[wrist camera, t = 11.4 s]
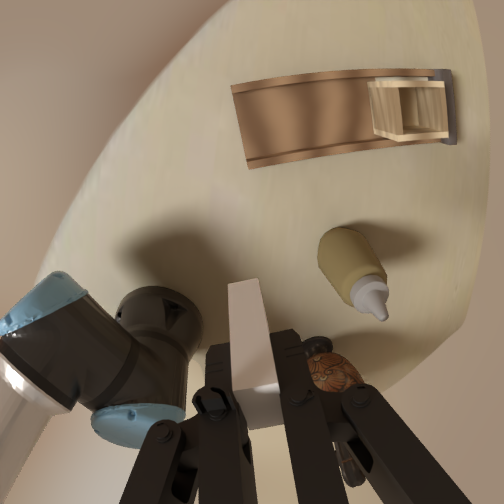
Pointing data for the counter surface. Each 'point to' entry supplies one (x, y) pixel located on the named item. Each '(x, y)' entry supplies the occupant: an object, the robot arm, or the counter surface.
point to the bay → (321, 114)
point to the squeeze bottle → (354, 271)
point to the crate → (408, 109)
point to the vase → (334, 380)
